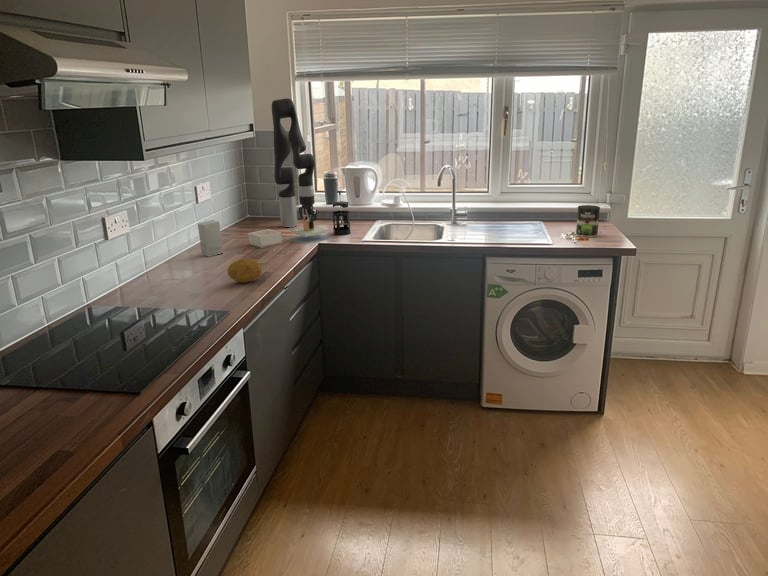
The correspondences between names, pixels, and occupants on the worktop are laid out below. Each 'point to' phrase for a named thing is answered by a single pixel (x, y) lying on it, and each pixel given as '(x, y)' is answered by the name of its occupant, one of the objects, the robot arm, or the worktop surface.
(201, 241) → the skincare box
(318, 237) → the mat
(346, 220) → the french press
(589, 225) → the coffee can
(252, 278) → the potato
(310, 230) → the lid
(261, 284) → the worktop surface
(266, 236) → the dish
